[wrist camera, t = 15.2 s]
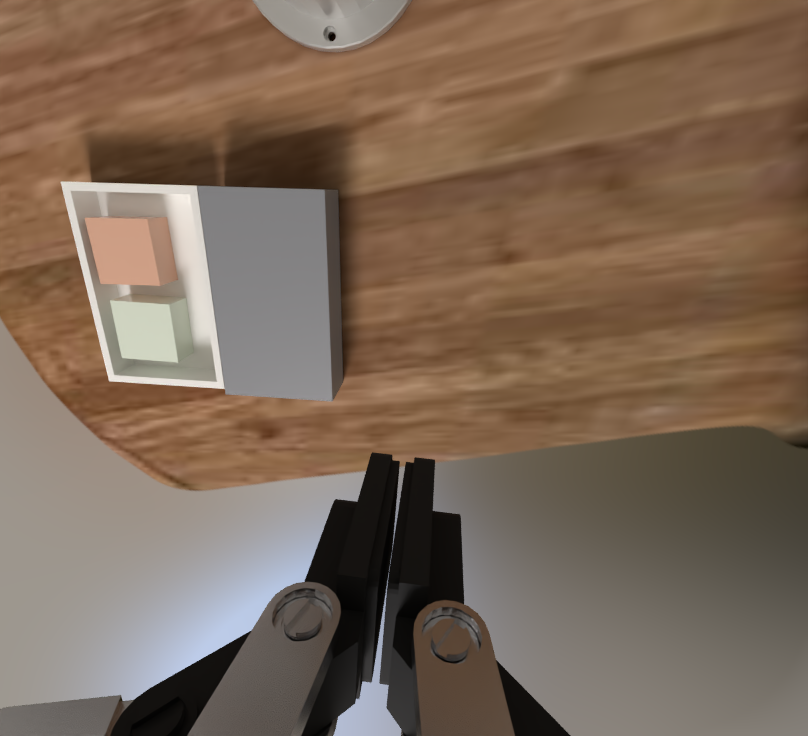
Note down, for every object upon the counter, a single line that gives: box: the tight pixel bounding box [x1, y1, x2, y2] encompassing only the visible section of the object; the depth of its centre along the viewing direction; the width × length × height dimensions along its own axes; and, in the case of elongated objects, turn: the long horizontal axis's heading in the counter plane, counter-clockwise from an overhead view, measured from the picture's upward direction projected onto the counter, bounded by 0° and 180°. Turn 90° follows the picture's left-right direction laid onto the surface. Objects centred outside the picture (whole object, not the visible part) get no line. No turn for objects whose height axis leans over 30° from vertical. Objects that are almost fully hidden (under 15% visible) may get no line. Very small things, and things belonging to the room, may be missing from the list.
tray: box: [61, 182, 225, 389], centre depth 36 cm, size 16×10×3 cm, turn 178°
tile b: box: [110, 294, 194, 363], centre depth 38 cm, size 5×5×2 cm
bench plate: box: [197, 186, 343, 401], centre depth 35 cm, size 16×9×4 cm, turn 178°
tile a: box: [85, 216, 178, 286], centre depth 35 cm, size 5×5×2 cm
